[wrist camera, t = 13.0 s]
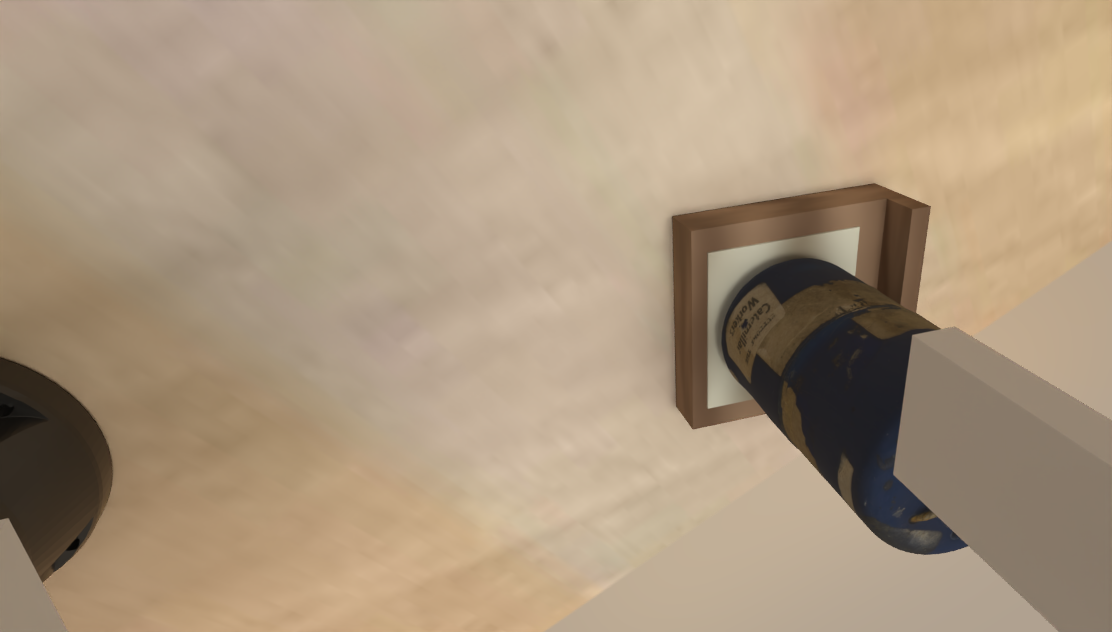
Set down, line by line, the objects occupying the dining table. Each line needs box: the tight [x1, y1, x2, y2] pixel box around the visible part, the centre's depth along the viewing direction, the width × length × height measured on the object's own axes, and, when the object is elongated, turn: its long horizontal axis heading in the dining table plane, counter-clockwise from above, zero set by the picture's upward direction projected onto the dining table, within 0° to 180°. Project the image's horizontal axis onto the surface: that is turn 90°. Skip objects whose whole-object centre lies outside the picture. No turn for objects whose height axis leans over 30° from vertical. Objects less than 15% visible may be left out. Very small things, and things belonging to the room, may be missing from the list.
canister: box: [721, 258, 968, 555], centre depth 39 cm, size 10×10×18 cm
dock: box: [673, 184, 931, 429], centre depth 48 cm, size 14×14×5 cm
